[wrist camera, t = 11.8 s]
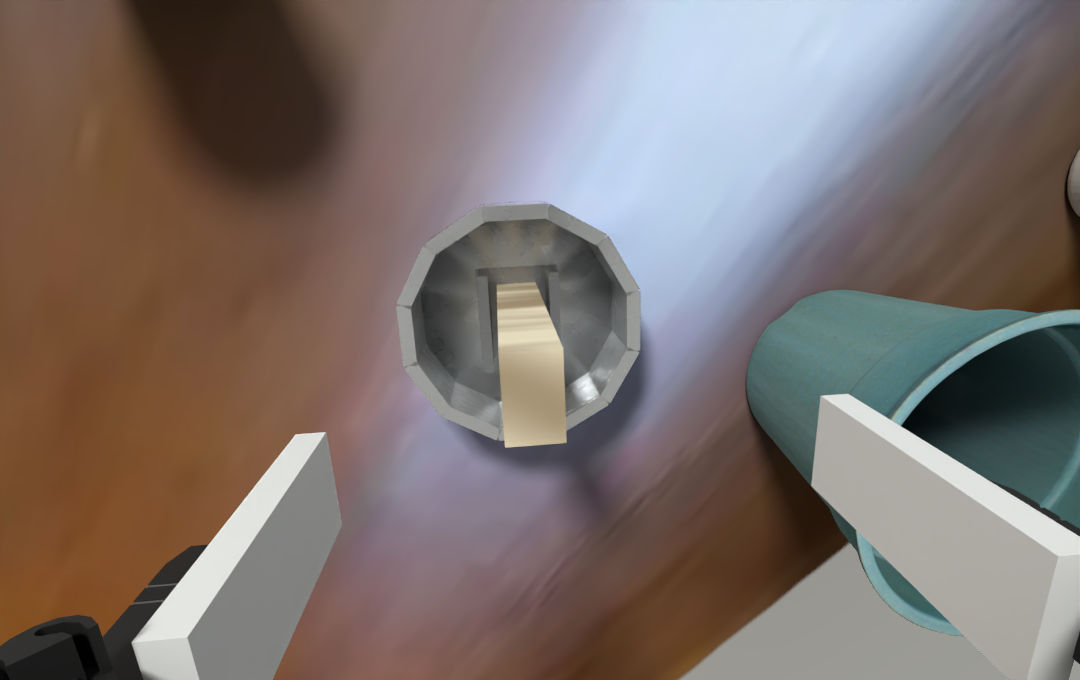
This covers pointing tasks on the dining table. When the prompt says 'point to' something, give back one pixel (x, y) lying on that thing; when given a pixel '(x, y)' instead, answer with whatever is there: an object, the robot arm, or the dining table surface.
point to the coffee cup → (1074, 184)
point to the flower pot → (929, 398)
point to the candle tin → (471, 310)
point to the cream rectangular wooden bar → (529, 368)
